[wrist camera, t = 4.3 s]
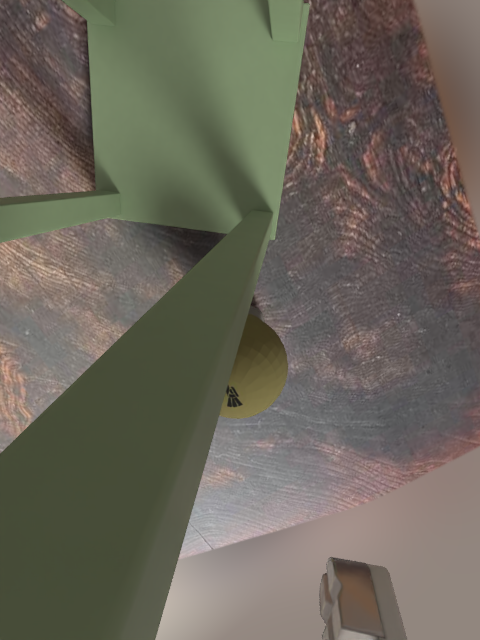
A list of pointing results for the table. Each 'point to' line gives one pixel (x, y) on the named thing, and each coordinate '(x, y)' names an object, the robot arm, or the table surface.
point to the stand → (158, 322)
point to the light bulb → (255, 370)
